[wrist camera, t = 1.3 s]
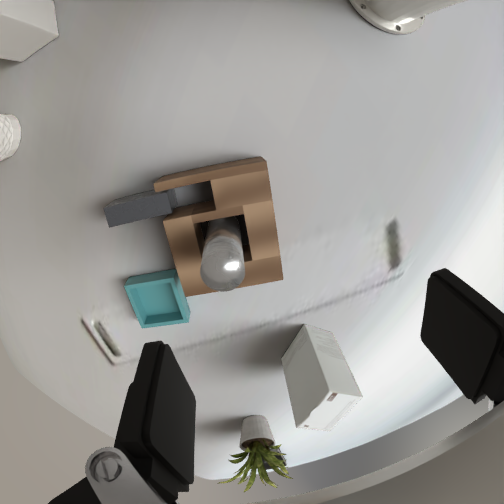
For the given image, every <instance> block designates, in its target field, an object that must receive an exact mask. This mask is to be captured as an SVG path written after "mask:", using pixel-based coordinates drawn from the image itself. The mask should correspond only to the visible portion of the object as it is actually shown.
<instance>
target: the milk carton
mask: <svg viewBox="0 0 504 504" xmlns="http://www.w3.org/2000/svg"><path fill="white" fill-rule="evenodd" d="M58 36H59V34H58V28H57V21H56V14H55V6H54V2H53V1H52V0H0V58H1V59H7V60H13V61H19V62H23V61H24V60H26V59H27V58H28V57H30V56H31V55H32V54H34V53H35V52H36V51H38V50H39V49H41V48H42V47H43V46H45V45H46V44H48V43H49V42H51V41H52V40H54V39H55V38H57V37H58Z"/></svg>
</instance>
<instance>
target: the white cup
mask: <svg viewBox="0 0 504 504" xmlns="http://www.w3.org/2000/svg"><path fill="white" fill-rule="evenodd" d="M20 140H21V127H20V124H19V121H18V119H17V118H16V117H15V116H14V115H10V114H0V161H2V160H5V159H7V158H9V157H11V156H13V155H14V153H15V152H16V150H17V149H18V147H19V143H20Z"/></svg>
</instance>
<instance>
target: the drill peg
mask: <svg viewBox="0 0 504 504" xmlns="http://www.w3.org/2000/svg"><path fill="white" fill-rule="evenodd" d="M200 275H201V278H202V280H203V282H204V283H205V284H206V285H207V286H208V287H209V288H211V289H213V290H216V291H230V290H233V289H235V288H236V287H238V286H239V285H240V284H241V282H242V281H243V279H244V276H245V266H244V258H243V250H242V242H241V233H240V225H239V222H238V220H237V218H236V217H235V216H230V217H225V218H220V219H214V220H210V221H209V224H208V228H207V234H206V239H205V245H204V250H203V256H202V262H201V267H200Z"/></svg>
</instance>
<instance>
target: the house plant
mask: <svg viewBox="0 0 504 504" xmlns="http://www.w3.org/2000/svg"><path fill="white" fill-rule="evenodd" d="M274 445H275V440H274V438H273V435H272V432H271V429H270V427H269V424H268V421H267V419H266V418H265V417H264V416H260V415H253V416H249V417H247V418H245V419H244V420H243V422H242V430H241V438H240V448H241V449H242V450H243V451H245V452H243V453H240V454H236V455H230V456H232V457H235V458H239V457H241V458H239V459H236V460H229V461H230V462H231V463H235V464H236V463H239V462H241V461H243V460H244V459H245V458H246V456H247V454H248V453H249V452H250V454H249V458H248V460H247V462H246V463H245V464H244V465H243V466H242V467H241V468H240V469H239V470H238V471H240V472H239V473H238V474H237V475H236V476H234V477H233V478H231V479H230V480H228V481H225V482H219V483H228V482H231V481H233V480H235V479H236V478H237V477H239V476H241V475H242V473H243V472H244V471H245V472H244V475H243V477H242V478H241V480H240V482H239V483H238V484H240V483H242V482H244V479H245V478H246V476H247V473H248V471H249V470H250V469H252V470H251V471H252V472H250V474H251V476H250V475H249V476H250V479H249V482H248V484H247V487H246V489H245V491H247V490H248V489H250V488H251V486H252V484H253V482H254V480H255V477H256V468H258V472H259V476H260V479H261V481H262V482H263V479H264V480H265V482H266V483H268V484H269V485H271V486H273V487H276V486H275V485H274V484H273V482H272V481H270V479H269V477H268V475H267V472H266V470H265V467H264V465H263V462H262V458H263V459H264V460H265V461H266V462H267V463H268V464H269V466H270V467H271V468H272V469H273V470H274V471H275V472H277V473H278V474H279V475H281V476H284V477H286V478H291V477H288V476H287V475H285V474H283V473H282V472H281V471H280V470H279V469H278V468H277V466H278V467H279V468H280V469H281V470H282V471H283V472H285V473H287V474H288V472H287V470H286V468H288V467H285V466H284V464H283V463H282V462H284V461H285V460H279V459H277V458H276V457H275V456H274V455H286V454H283V453H277V452H274V451H270V449H271V448H273V449H278V448H279V447H280V446H281V445H278V446H274ZM261 456H262V457H261ZM253 457H254V458H253ZM251 466H252V467H251ZM245 467H246V469H245ZM244 469H245V470H244ZM243 470H244V471H243ZM238 471H237V472H238ZM237 472H236V473H237ZM234 474H235V473H234ZM262 477H263V478H262ZM245 481H246V480H245ZM263 483H264V482H263ZM276 488H277V487H276ZM245 491H244V492H245Z"/></svg>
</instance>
